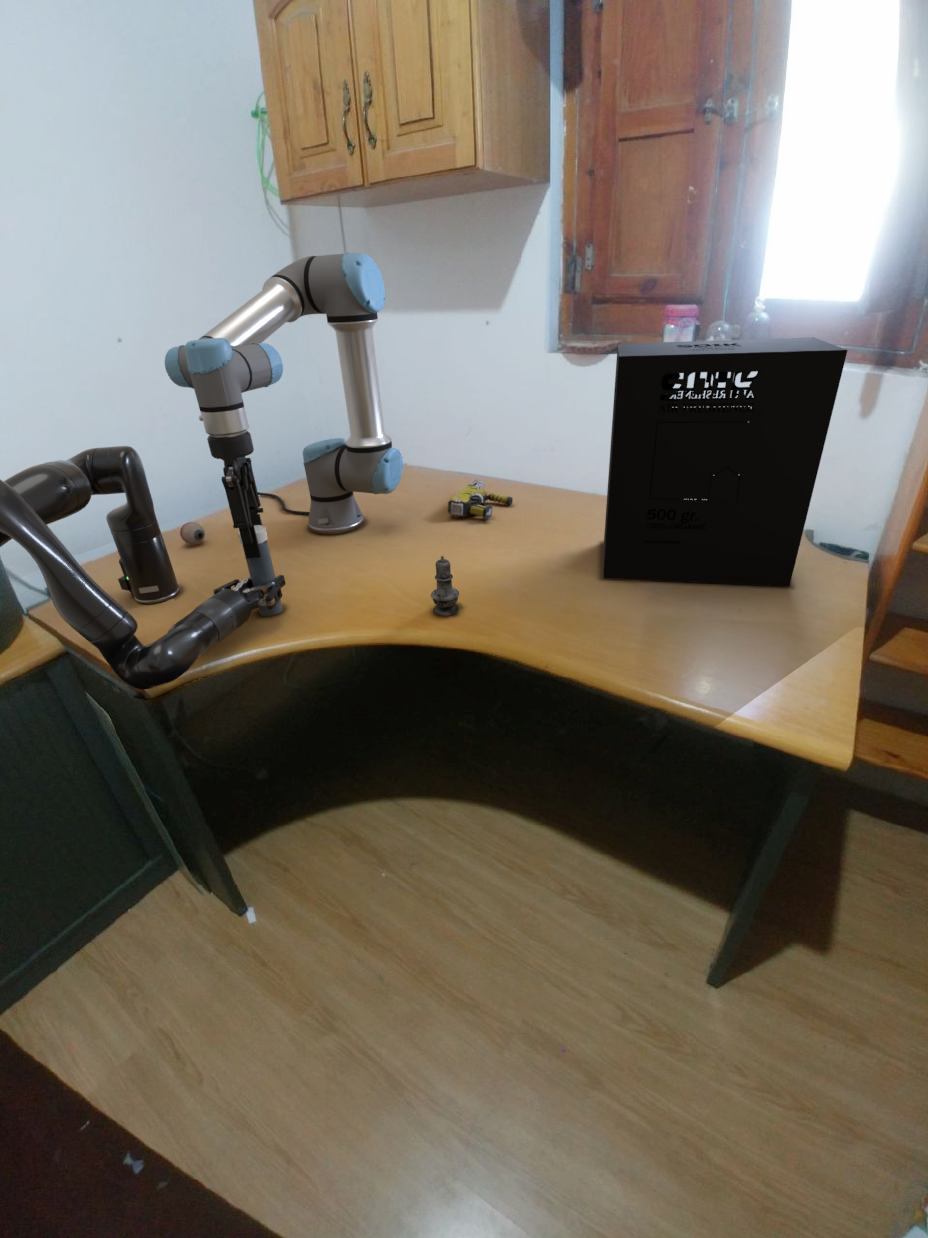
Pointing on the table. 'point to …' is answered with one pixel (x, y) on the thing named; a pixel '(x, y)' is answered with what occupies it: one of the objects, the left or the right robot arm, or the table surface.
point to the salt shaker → (444, 590)
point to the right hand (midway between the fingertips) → (256, 550)
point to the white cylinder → (258, 534)
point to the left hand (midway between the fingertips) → (271, 577)
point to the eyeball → (192, 533)
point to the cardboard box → (716, 458)
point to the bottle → (263, 576)
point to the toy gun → (475, 501)
